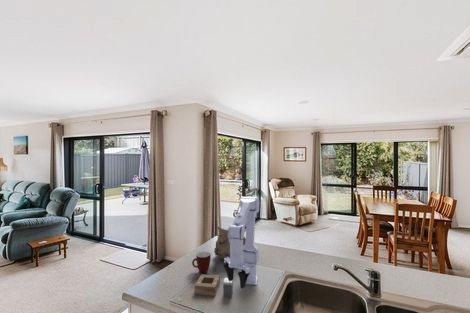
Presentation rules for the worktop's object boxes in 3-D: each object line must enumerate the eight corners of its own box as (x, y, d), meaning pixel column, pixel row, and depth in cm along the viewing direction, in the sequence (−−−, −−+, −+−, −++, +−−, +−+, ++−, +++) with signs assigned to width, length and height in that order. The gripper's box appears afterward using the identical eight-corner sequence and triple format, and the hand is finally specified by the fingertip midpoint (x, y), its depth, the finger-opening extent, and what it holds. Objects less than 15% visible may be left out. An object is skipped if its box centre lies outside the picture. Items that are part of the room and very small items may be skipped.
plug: (224, 292, 112) (224, 277, 112) (233, 292, 112) (232, 278, 112) (223, 297, 108) (223, 281, 109) (231, 297, 108) (231, 282, 108)
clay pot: (237, 269, 136) (237, 232, 136) (205, 260, 148) (205, 226, 148) (255, 254, 157) (255, 222, 158) (226, 247, 169) (226, 218, 169)
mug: (191, 275, 128) (190, 257, 128) (193, 269, 136) (193, 251, 137) (210, 275, 129) (210, 257, 129) (211, 268, 137) (210, 251, 137)
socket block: (201, 282, 122) (201, 274, 122) (219, 283, 120) (219, 275, 120) (194, 294, 111) (194, 285, 111) (215, 295, 109) (215, 287, 110)
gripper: (218, 250, 104) (219, 280, 104) (241, 260, 94) (242, 294, 94) (230, 246, 109) (230, 275, 109) (253, 255, 99) (253, 287, 99)
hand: (236, 283), depth 102 cm, fingers open, 7 cm apart
